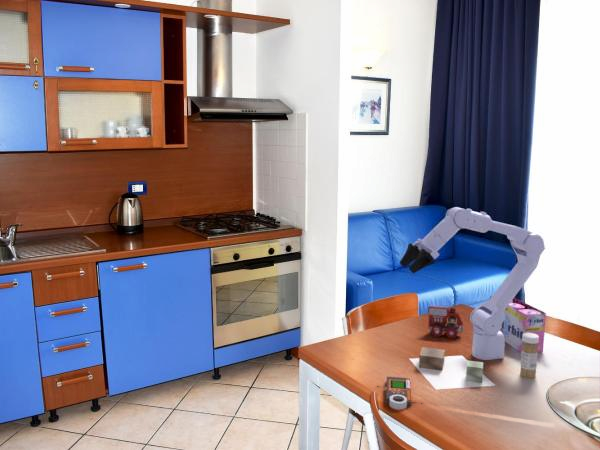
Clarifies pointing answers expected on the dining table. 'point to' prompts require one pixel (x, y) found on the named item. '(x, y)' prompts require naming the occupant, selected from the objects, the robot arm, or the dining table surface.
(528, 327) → the gum box
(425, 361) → the walnut plinth
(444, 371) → the build board
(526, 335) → the sprinkles bottle
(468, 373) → the sage cube
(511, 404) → the dining table surface
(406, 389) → the electronic device
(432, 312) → the toy fire truck
